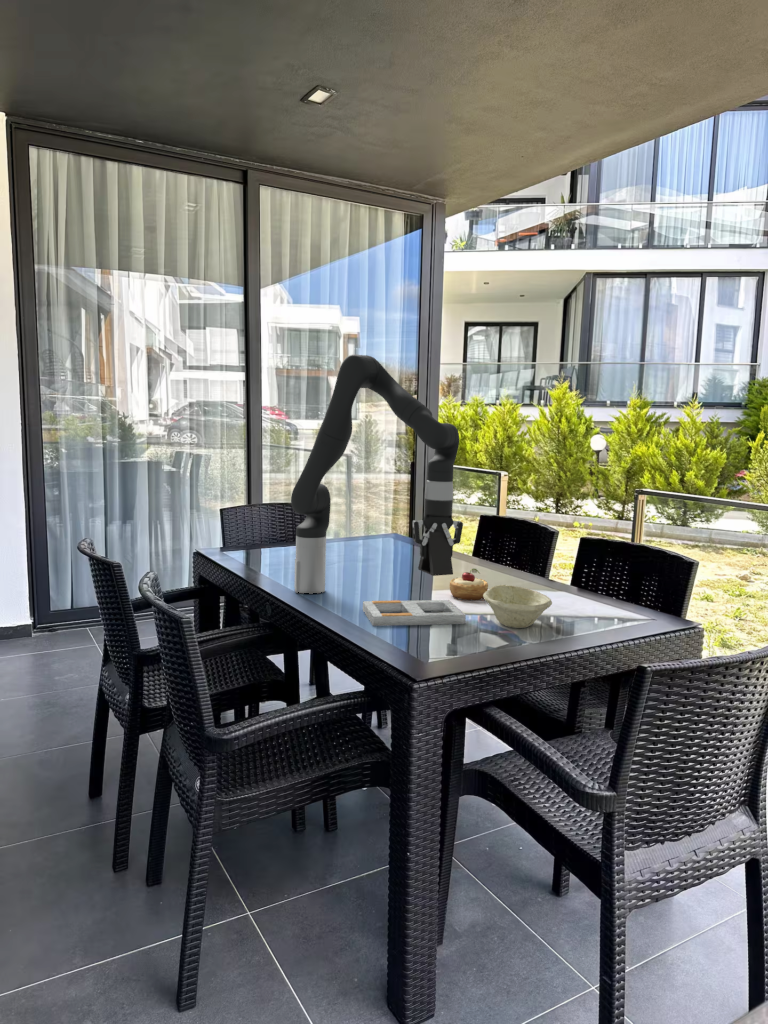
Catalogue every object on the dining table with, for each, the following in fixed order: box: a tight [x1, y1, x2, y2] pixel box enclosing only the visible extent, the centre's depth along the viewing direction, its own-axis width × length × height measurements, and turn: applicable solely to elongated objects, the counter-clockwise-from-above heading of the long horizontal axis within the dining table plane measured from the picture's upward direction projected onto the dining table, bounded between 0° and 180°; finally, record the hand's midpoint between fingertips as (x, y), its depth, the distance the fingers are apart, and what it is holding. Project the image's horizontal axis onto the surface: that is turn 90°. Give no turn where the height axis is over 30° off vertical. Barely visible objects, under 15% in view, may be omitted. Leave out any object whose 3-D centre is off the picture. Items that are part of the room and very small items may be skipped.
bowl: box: [483, 584, 553, 629], centre depth 195 cm, size 14×18×15 cm
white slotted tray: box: [362, 599, 467, 627], centre depth 200 cm, size 25×16×3 cm, turn 101°
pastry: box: [449, 568, 489, 601], centre depth 226 cm, size 12×12×9 cm
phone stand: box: [417, 528, 454, 577], centre depth 200 cm, size 9×6×12 cm, turn 24°
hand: (435, 558), depth 200 cm, fingers closed on phone stand, 6 cm apart
